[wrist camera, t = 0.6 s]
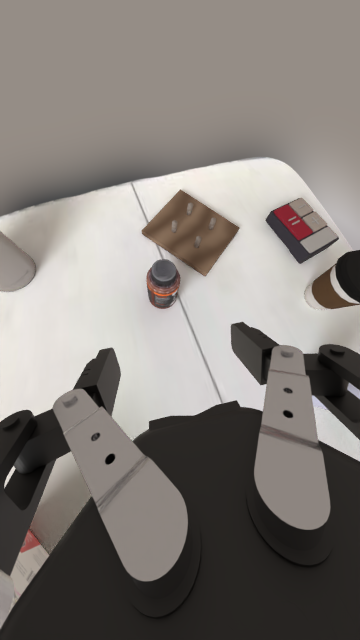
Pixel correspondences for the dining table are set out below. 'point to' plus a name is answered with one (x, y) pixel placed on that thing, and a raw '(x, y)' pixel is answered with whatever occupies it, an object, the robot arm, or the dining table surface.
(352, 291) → the coffee cup
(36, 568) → the ink cartridge box
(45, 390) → the dining table surface
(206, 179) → the dining table surface
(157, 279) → the supplement bottle
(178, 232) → the pin tray
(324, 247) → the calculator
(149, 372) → the dining table surface
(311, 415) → the robot arm
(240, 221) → the dining table surface
